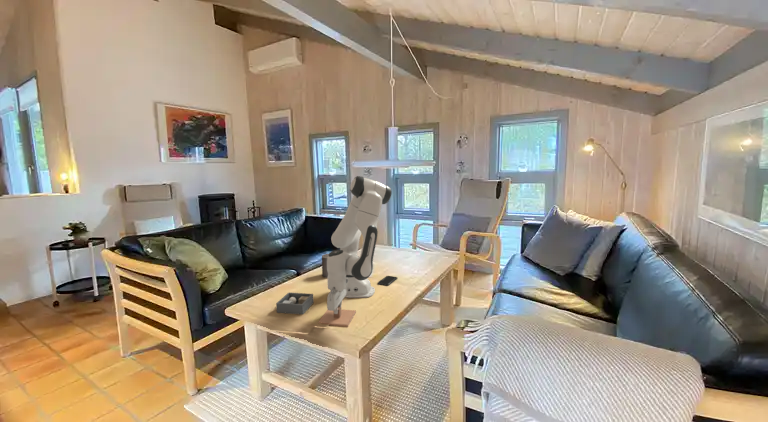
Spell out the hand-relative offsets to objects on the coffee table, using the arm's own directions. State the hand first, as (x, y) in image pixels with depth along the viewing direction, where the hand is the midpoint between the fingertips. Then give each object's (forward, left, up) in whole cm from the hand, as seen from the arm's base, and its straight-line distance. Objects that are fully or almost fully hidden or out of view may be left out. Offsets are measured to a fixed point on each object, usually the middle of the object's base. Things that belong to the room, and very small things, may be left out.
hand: (337, 311), depth 162 cm
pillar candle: (+24, -58, -4) cm, 63 cm away
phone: (-16, -53, -4) cm, 56 cm away
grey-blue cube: (+28, -4, -3) cm, 29 cm away
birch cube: (+22, -10, -3) cm, 24 cm away
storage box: (+25, -7, -4) cm, 26 cm away
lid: (0, 0, -4) cm, 4 cm away
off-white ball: (+28, -10, -3) cm, 30 cm away
